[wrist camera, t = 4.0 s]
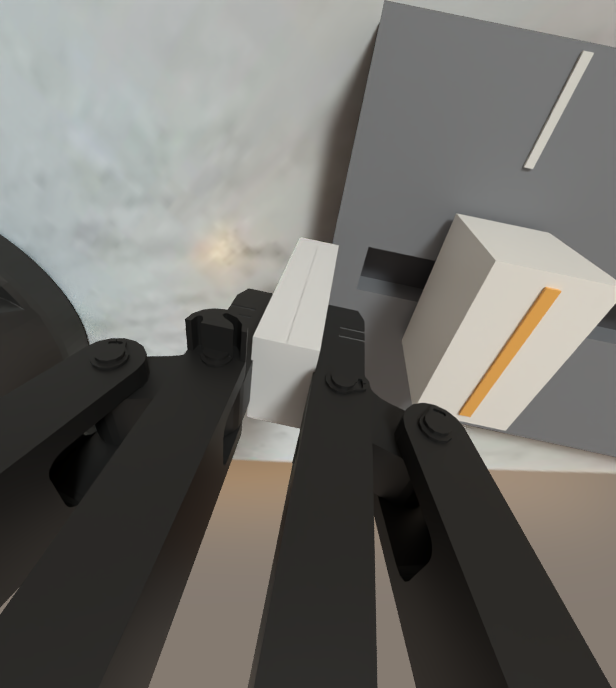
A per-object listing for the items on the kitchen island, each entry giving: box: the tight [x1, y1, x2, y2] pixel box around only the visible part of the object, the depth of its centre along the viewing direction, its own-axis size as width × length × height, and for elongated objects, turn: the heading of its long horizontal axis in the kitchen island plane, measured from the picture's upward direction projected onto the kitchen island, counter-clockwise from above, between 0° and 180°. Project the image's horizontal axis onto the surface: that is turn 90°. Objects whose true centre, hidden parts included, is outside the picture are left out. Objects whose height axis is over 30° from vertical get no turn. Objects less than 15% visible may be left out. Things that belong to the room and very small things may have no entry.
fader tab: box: [402, 213, 616, 431], centre depth 13 cm, size 4×6×6 cm, turn 171°
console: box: [328, 0, 616, 457], centre depth 15 cm, size 26×16×3 cm, turn 80°
